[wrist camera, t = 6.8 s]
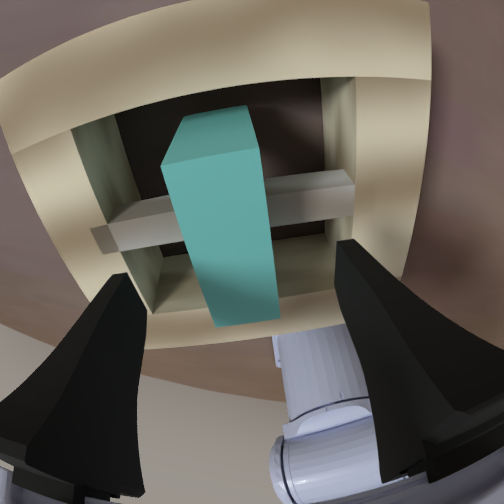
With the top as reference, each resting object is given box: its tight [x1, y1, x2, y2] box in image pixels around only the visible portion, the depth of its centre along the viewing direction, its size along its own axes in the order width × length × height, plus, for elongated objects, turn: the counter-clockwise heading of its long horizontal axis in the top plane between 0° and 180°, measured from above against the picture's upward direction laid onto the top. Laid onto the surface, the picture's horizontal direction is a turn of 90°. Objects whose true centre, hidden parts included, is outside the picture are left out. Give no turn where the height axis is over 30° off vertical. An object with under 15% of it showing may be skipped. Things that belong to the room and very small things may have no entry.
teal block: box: [161, 105, 281, 328], centre depth 14 cm, size 8×3×6 cm, turn 8°
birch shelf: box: [0, 0, 431, 349], centre depth 15 cm, size 18×18×5 cm
